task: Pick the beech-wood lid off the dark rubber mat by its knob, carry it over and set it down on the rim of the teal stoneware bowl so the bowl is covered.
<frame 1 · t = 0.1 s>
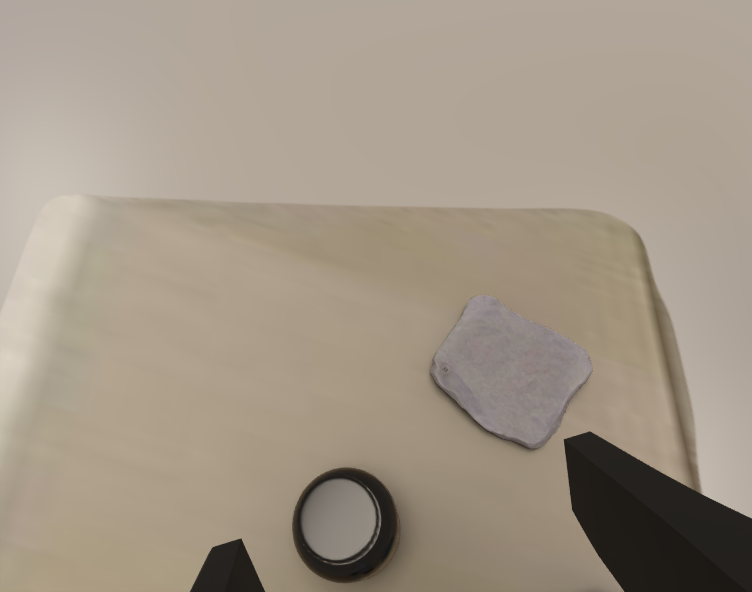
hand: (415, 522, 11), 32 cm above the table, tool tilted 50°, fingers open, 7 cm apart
stone block: (501, 380, 45), on the table
supplement bottle: (357, 529, 41), on the table
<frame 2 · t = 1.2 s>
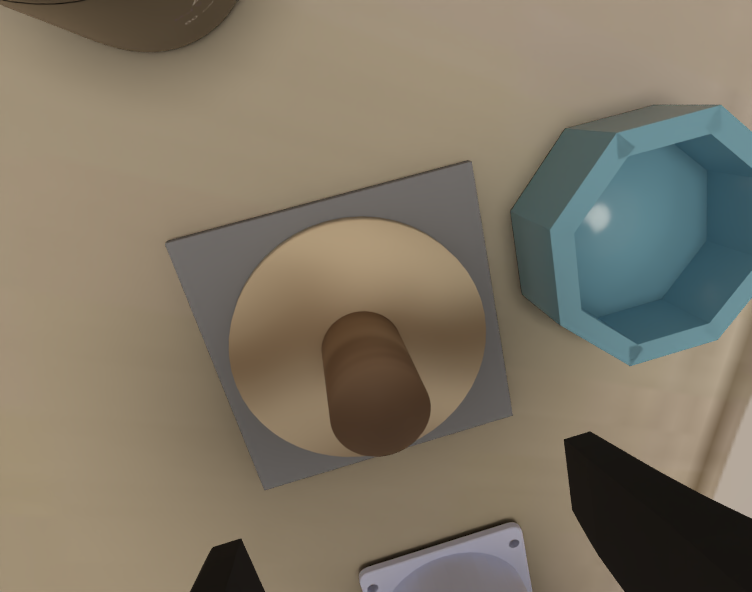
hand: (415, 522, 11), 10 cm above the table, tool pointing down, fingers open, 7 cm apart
mat: (358, 335, 20), on the table
lid: (359, 339, 20), resting on mat
bowl: (616, 225, 21), on the table
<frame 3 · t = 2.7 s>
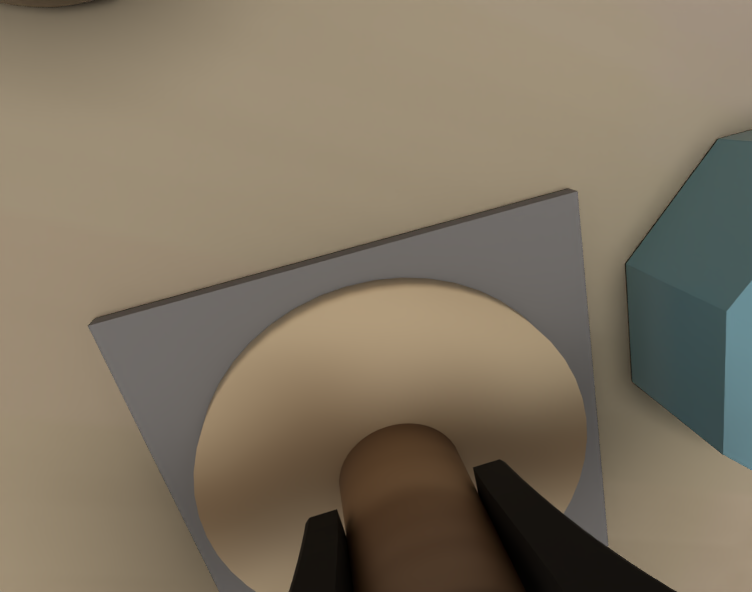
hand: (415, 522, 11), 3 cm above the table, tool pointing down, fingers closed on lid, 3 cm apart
mat: (391, 446, 14), on the table
lid: (394, 455, 13), resting on mat, touching gripper
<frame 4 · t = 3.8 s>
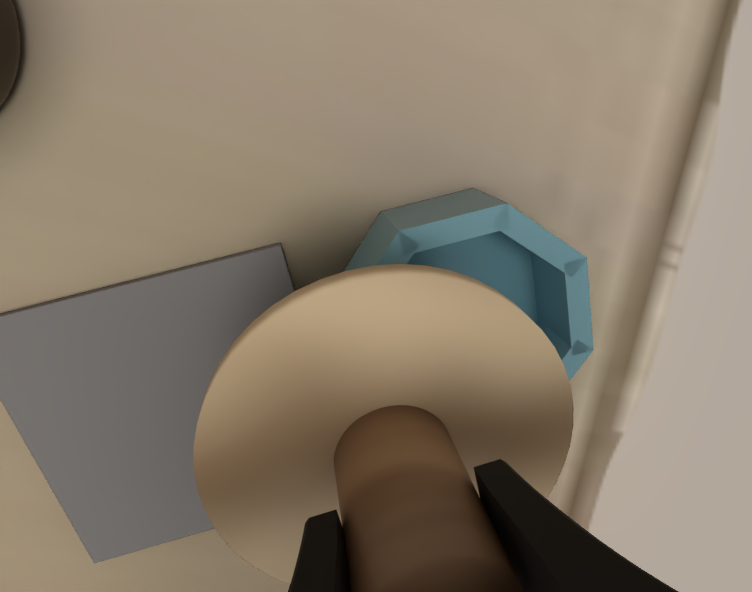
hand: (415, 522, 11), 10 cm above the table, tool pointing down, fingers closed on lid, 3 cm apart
mat: (181, 411, 20), on the table
lid: (387, 436, 14), point 7 cm above the table, touching gripper
bowl: (446, 304, 20), on the table
when the fingers open (7 cm above the table, at t = 4.9 s): lid stays where it is, resting on bowl.
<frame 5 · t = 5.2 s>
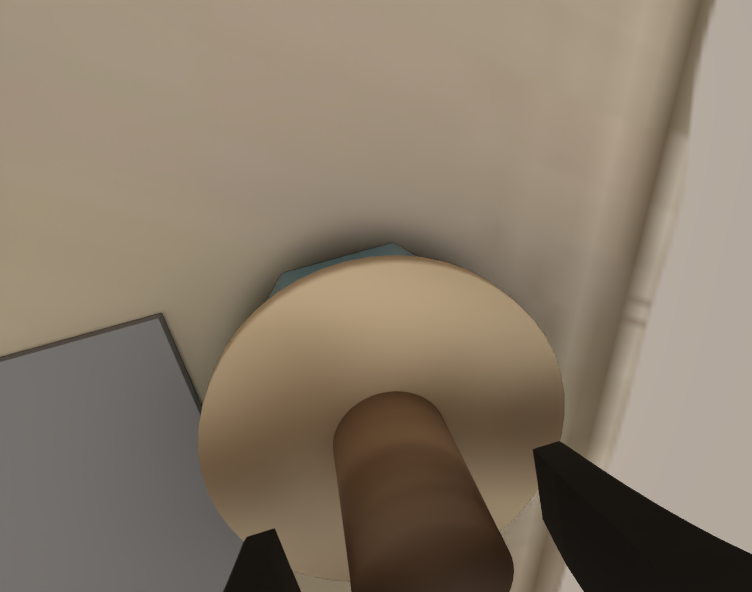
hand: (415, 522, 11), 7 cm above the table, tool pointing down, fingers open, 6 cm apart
mat: (60, 506, 17), on the table
lid: (385, 424, 14), point 3 cm above the table, touching bowl
bowl: (370, 374, 17), on the table
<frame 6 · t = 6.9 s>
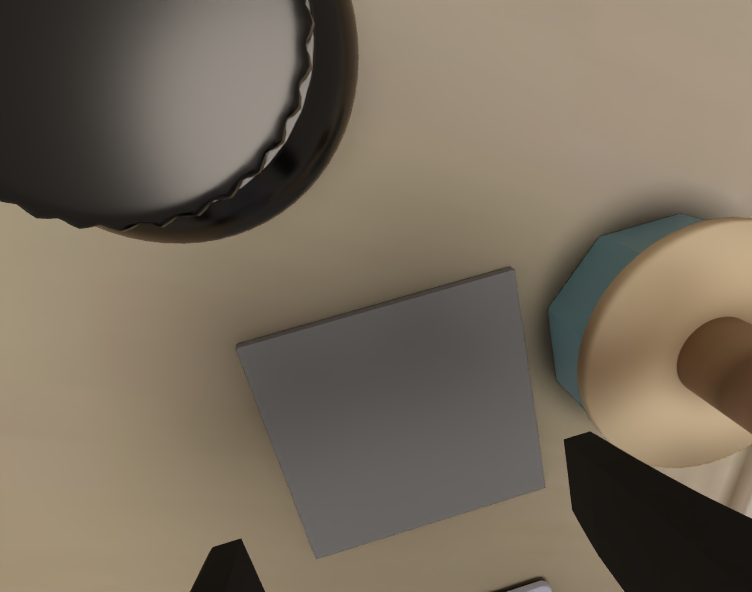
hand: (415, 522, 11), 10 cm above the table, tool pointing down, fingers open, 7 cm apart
mat: (405, 420, 22), on the table
lid: (699, 345, 19), point 3 cm above the table, touching bowl
supplement bottle: (221, 77, 17), on the table
bowl: (644, 318, 22), on the table
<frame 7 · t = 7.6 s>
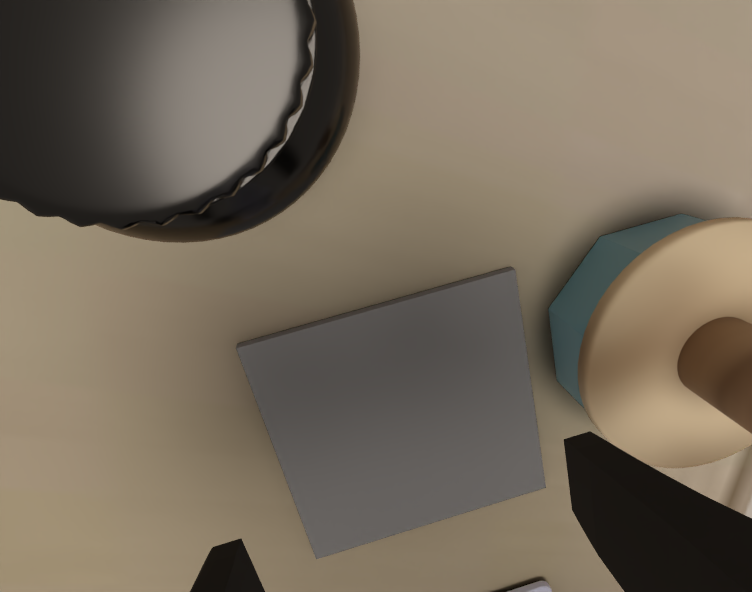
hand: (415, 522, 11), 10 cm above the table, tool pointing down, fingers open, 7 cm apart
mat: (406, 420, 22), on the table
lid: (699, 346, 19), point 3 cm above the table, touching bowl
supplement bottle: (222, 77, 17), on the table
bowl: (644, 318, 22), on the table
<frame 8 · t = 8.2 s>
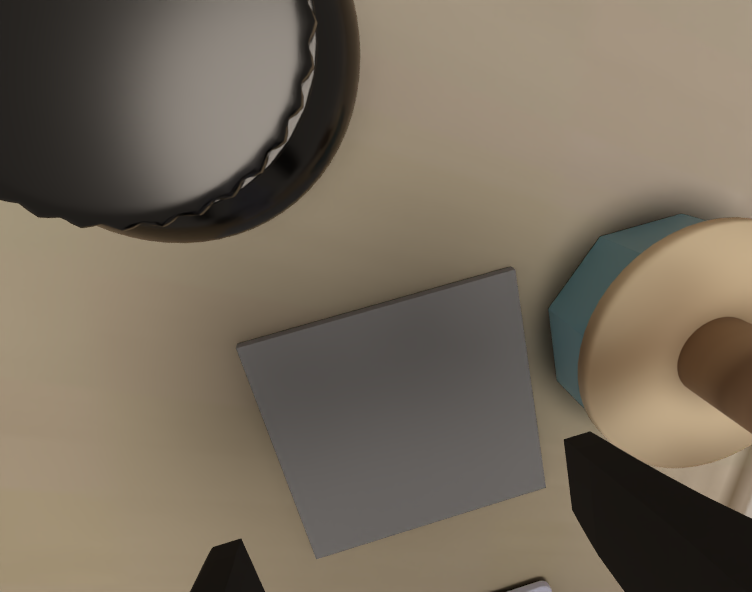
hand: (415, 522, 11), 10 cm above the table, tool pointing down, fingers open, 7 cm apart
mat: (406, 420, 22), on the table
lid: (699, 346, 19), point 3 cm above the table, touching bowl
supplement bottle: (222, 77, 17), on the table
bowl: (644, 318, 22), on the table
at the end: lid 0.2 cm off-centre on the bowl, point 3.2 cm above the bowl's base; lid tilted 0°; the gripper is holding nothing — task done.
